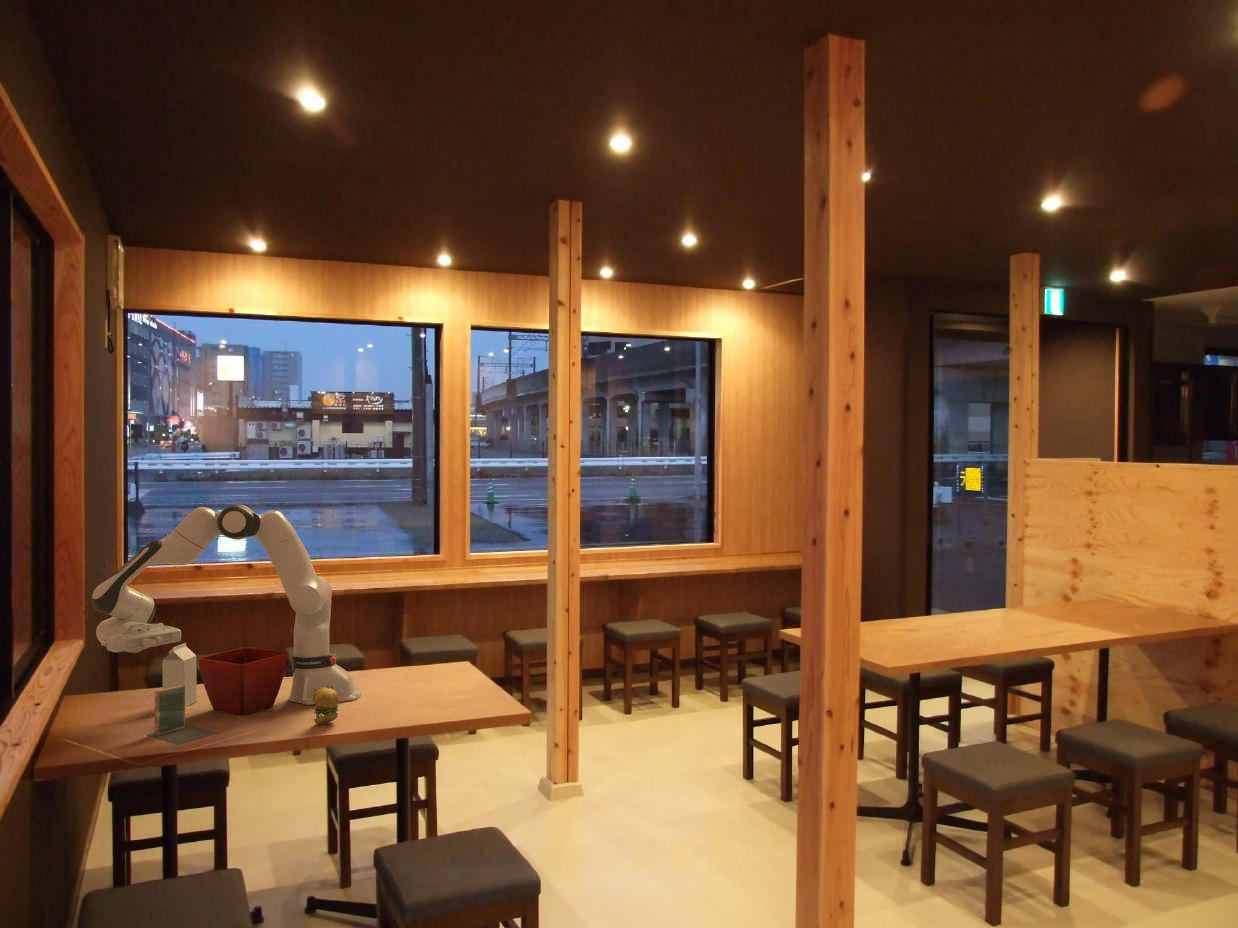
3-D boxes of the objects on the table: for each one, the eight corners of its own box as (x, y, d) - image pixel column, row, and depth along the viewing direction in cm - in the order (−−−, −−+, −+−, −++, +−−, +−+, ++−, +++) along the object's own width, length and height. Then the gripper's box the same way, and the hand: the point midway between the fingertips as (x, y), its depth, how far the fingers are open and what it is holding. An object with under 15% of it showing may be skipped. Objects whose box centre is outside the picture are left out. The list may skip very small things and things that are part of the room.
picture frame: (154, 733, 258) (154, 691, 258) (181, 726, 265) (181, 685, 265) (158, 734, 257) (158, 692, 257) (185, 727, 264) (185, 686, 263)
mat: (145, 736, 257) (145, 734, 257) (185, 725, 267) (185, 724, 267) (177, 745, 248) (177, 744, 248) (218, 734, 258) (218, 732, 258)
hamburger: (330, 719, 273) (330, 679, 273) (344, 723, 268) (344, 682, 268) (307, 725, 267) (307, 684, 267) (321, 729, 262) (321, 688, 262)
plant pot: (290, 704, 289) (290, 651, 289) (242, 720, 272) (242, 664, 272) (246, 697, 297) (245, 646, 297) (196, 713, 280) (196, 658, 280)
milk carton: (196, 702, 292) (196, 642, 292) (184, 708, 285) (183, 647, 285) (175, 701, 293) (175, 642, 293) (162, 707, 286) (162, 647, 286)
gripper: (97, 632, 265) (122, 637, 258) (166, 621, 282) (191, 626, 274) (97, 653, 265) (122, 660, 258) (166, 642, 282) (191, 647, 274)
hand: (158, 642), depth 266 cm, fingers closed
